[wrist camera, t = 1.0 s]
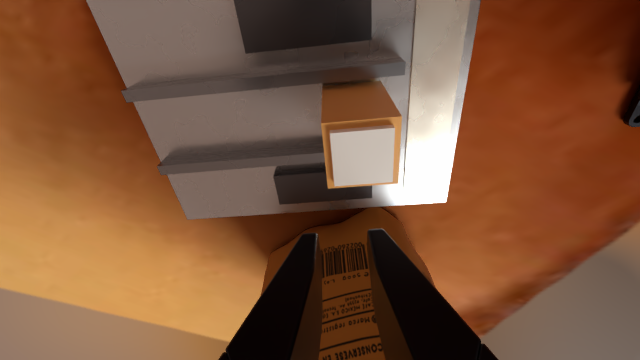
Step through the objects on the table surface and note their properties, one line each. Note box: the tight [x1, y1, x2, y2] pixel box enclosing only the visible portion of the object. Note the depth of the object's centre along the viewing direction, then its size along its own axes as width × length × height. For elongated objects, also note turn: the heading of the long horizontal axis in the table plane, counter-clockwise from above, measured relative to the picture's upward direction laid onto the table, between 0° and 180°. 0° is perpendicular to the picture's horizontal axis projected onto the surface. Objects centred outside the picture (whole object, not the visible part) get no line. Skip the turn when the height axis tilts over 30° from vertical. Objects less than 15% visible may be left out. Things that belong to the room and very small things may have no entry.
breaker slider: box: [321, 81, 402, 189], centre depth 14 cm, size 3×3×5 cm
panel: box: [86, 0, 481, 220], centre depth 17 cm, size 18×14×3 cm
